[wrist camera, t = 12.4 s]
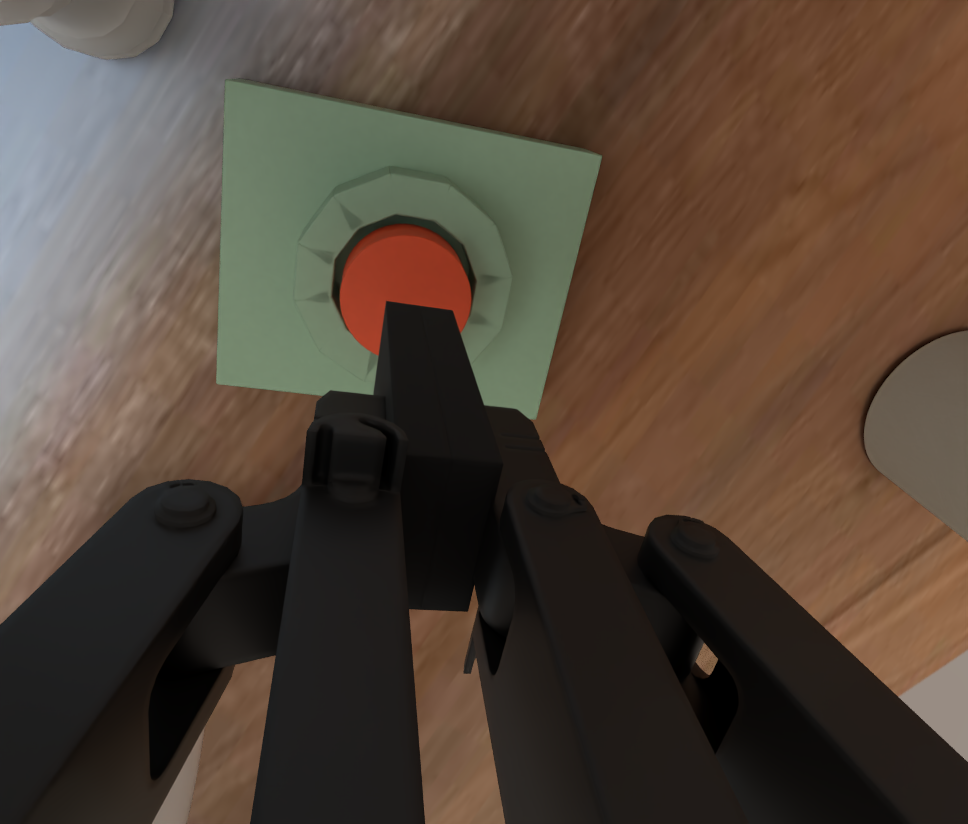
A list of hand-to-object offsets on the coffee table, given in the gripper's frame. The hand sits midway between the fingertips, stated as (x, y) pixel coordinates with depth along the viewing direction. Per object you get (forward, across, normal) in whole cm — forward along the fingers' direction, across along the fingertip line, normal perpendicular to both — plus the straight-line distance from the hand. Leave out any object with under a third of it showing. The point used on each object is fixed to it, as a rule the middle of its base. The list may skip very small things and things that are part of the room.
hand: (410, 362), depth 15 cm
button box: (+11, 0, 0) cm, 11 cm away
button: (+7, 0, 0) cm, 7 cm away
